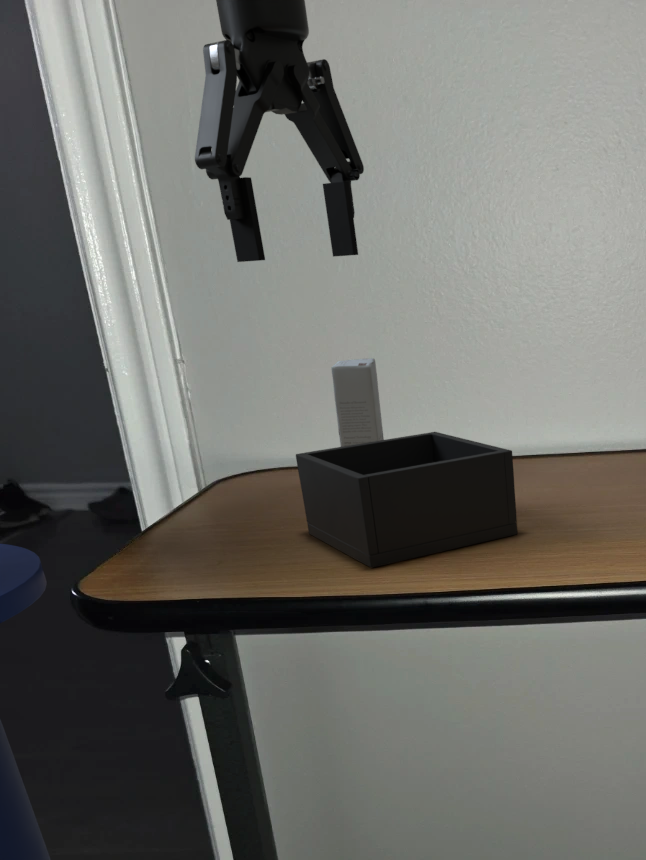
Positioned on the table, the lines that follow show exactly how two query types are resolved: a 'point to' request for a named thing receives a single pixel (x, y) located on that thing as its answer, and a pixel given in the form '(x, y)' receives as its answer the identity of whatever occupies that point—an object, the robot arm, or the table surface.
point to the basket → (408, 496)
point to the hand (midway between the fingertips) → (301, 258)
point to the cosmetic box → (357, 401)
